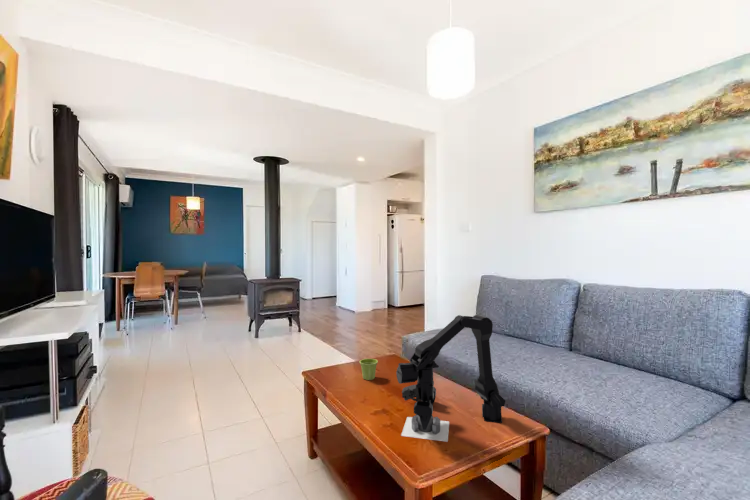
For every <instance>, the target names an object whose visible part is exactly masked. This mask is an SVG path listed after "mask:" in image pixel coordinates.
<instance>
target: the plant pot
mask: <svg viewBox="0 0 750 500" xmlns="http://www.w3.org/2000/svg"><path fill="white" fill-rule="evenodd" d="M378 361H379V360H378V359H376V358H363V359H361V360H359V364H360V367H361V374H362V379H363V380H367V381H373V380H374V379H375V378H376V369H377V365H378V363H379V362H378Z"/></svg>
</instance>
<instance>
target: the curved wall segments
mask: <svg viewBox="0 0 750 500" xmlns="http://www.w3.org/2000/svg"><path fill="white" fill-rule="evenodd" d="M411 417H412V430H413V431H414V432H418V415H416V414H415V415H413V416H411ZM433 420H434V424H432V433H433V434H435V435H436V434H438V433H439V432H440V421H441V419H440V418H439V417H438V416H433Z"/></svg>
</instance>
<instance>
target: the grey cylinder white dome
mask: <svg viewBox="0 0 750 500" xmlns="http://www.w3.org/2000/svg"><path fill="white" fill-rule="evenodd" d="M433 420H434V416H433V415H432V416H431V419H430V421H429V424H428V426H427V429H426V430H423V428H422V424H421V420H420V417H419V416H418V429H419V430H420V431H422V432H431V431H432V424H434V423H433Z"/></svg>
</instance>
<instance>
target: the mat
mask: <svg viewBox="0 0 750 500" xmlns="http://www.w3.org/2000/svg"><path fill="white" fill-rule="evenodd" d="M412 417H413V416H407V417H406V420H405V423H404V426H403V428H402V432H401V433H400V436H401V437H407V438H415V439H424V440H430V441H440V442H446V443H448V441H449V430H450V421H448V420H447V421H446V420H440V432H439V433H438V434H436V435H435V434H433V433H432V431H431V432H422V431H420V430H419V429H418V432H414V431H413V430H412ZM433 423H434V419H433Z"/></svg>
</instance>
